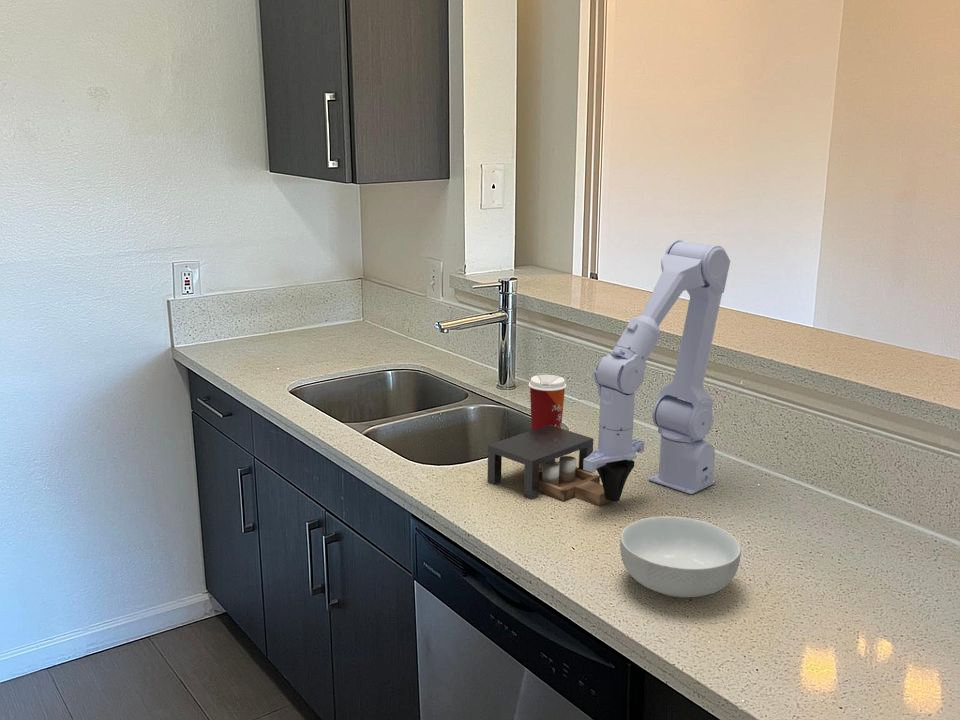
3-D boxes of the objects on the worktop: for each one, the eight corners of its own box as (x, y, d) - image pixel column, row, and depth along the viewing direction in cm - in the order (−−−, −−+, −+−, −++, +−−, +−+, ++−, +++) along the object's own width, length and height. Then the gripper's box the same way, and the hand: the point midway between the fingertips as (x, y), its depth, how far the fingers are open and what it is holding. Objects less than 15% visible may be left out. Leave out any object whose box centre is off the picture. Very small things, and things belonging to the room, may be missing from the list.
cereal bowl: (666, 626, 122) (670, 578, 120) (595, 572, 136) (597, 528, 134) (763, 597, 129) (767, 551, 127) (685, 549, 143) (688, 507, 142)
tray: (623, 495, 164) (625, 471, 162) (588, 511, 157) (589, 486, 156) (562, 472, 174) (562, 450, 172) (525, 487, 167) (526, 463, 166)
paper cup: (562, 452, 184) (564, 385, 181) (524, 449, 186) (525, 382, 182) (566, 439, 192) (568, 374, 188) (530, 436, 193) (531, 372, 189)
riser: (591, 474, 173) (593, 438, 171) (531, 499, 161) (532, 461, 160) (548, 459, 180) (549, 424, 179) (487, 481, 169) (487, 445, 167)
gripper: (608, 441, 148) (604, 518, 151) (660, 421, 158) (656, 494, 161) (574, 430, 153) (571, 506, 156) (627, 412, 163) (623, 483, 166)
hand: (612, 499), depth 159 cm, fingers closed, pressing on tray
